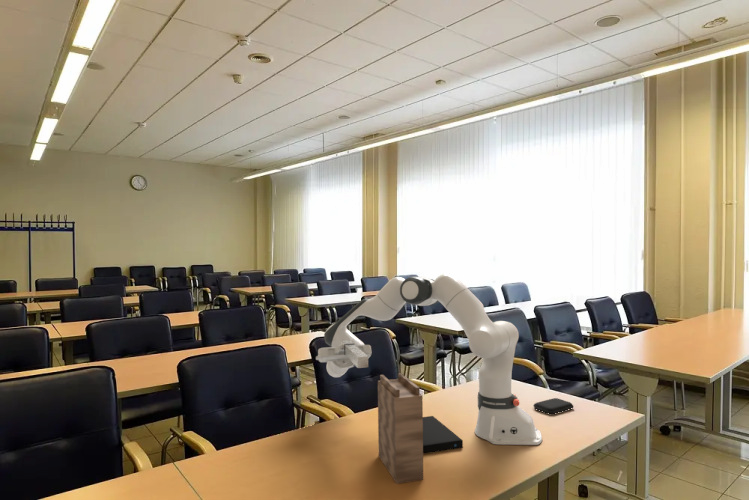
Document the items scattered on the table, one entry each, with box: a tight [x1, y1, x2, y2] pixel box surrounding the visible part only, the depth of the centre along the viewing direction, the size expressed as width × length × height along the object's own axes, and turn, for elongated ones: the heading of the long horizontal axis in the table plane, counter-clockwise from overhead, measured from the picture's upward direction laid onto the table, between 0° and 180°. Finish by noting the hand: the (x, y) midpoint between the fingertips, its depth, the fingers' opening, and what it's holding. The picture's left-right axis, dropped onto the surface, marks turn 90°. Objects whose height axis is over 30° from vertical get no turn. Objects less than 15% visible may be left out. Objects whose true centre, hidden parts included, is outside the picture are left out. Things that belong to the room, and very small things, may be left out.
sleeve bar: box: [341, 341, 369, 369], centre depth 163 cm, size 26×4×4 cm, turn 16°
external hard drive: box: [423, 415, 464, 455], centre depth 164 cm, size 14×23×3 cm, turn 17°
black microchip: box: [533, 397, 574, 415], centre depth 190 cm, size 11×3×15 cm
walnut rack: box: [377, 372, 424, 485], centre depth 141 cm, size 18×8×26 cm, turn 16°
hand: (348, 346), depth 172 cm, fingers closed on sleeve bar, 3 cm apart
